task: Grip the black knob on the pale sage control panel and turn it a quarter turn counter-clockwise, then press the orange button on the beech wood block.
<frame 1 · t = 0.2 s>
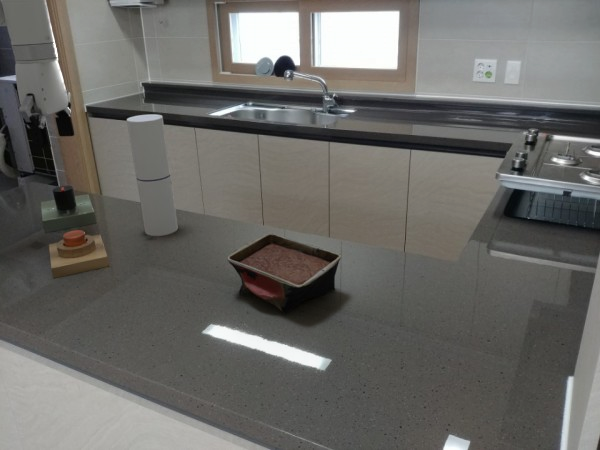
hand: (55, 141, 109), 21 cm above the worktop, tool pointing down, fingers open, 9 cm apart
button: (74, 238, 105), point 5 cm above the worktop, slide at 0.1 cm
cylindrical container: (161, 230, 120), on the worktop
button block: (79, 260, 107), on the worktop
knob: (64, 196, 126), point 5 cm above the worktop, hinge at 0.0°
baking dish: (287, 292, 92), on the worktop
panel: (69, 218, 128), on the worktop
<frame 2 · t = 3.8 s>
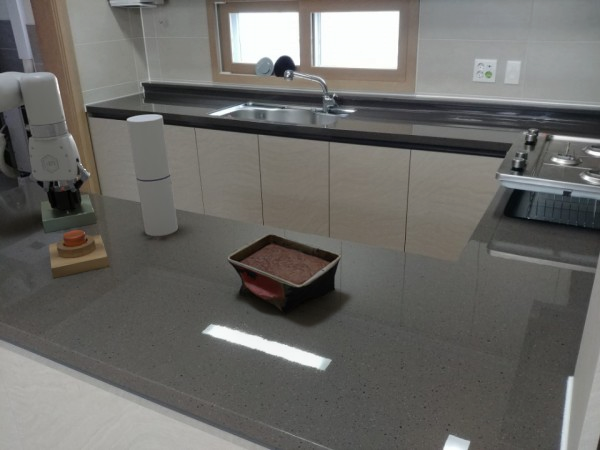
hand: (66, 205, 127), 3 cm above the worktop, tool pointing down, fingers closed on knob, panel, 4 cm apart
knob: (64, 196, 126), point 5 cm above the worktop, hinge at 0.0°, touching gripper
everything else where it was.
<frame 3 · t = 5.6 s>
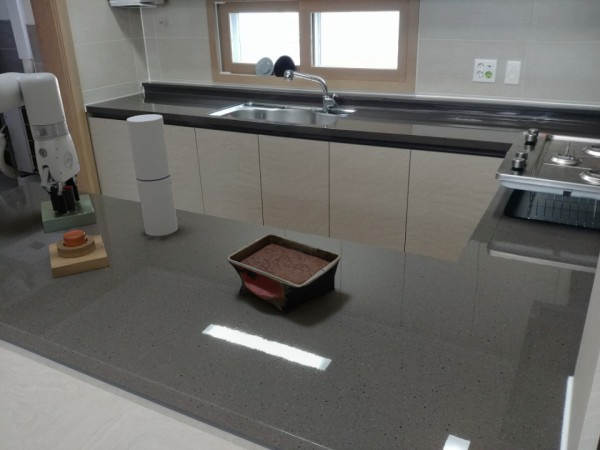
hand: (67, 205, 127), 3 cm above the worktop, tool pointing down, fingers open, 5 cm apart
knob: (64, 196, 126), point 5 cm above the worktop, hinge at 89.4°
everything else where it was.
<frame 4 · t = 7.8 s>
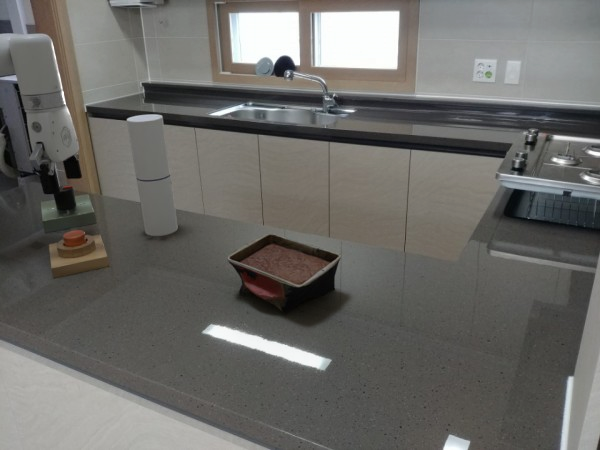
hand: (63, 185, 110), 13 cm above the worktop, tool pointing down, fingers open, 9 cm apart
nothing on the worktop moved.
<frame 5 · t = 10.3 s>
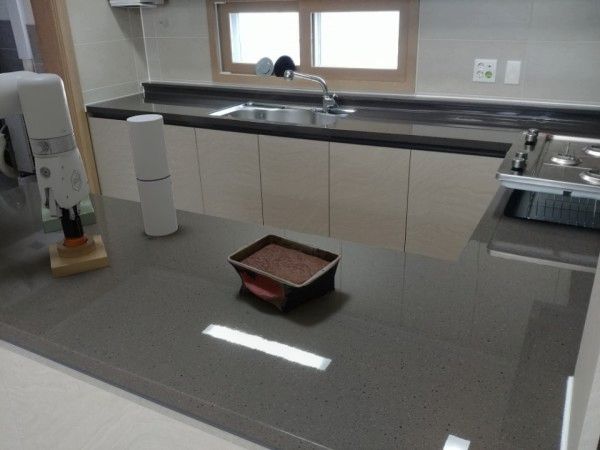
hand: (74, 235, 105), 5 cm above the worktop, tool pointing down, fingers closed
button: (75, 240, 105), point 4 cm above the worktop, slide at -0.3 cm, touching gripper
everything else where it was.
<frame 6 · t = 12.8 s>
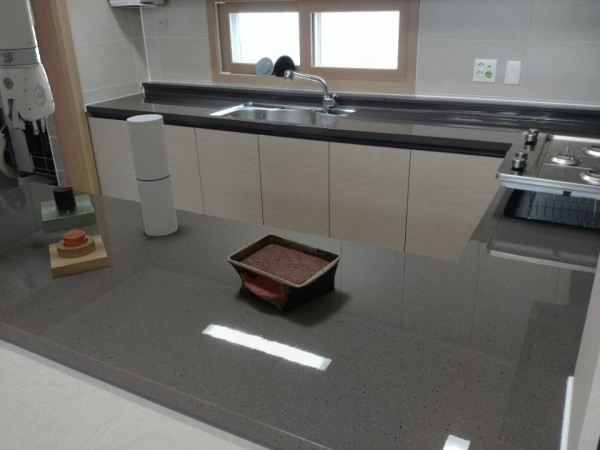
hand: (38, 152, 108), 20 cm above the worktop, tool pointing down, fingers closed
button: (74, 238, 105), point 5 cm above the worktop, slide at 0.1 cm
everything else where it was.
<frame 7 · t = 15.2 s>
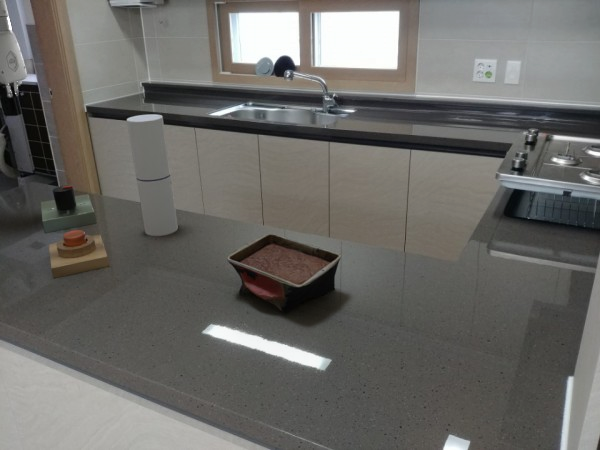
hand: (13, 115, 118), 25 cm above the worktop, tool pointing down, fingers closed
nothing on the worktop moved.
at the end: knob at +89° (first picture: +0°); button pushed in 1.1 cm at the most during the clip, back to where it started at the end; button slide at 0.1 cm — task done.
